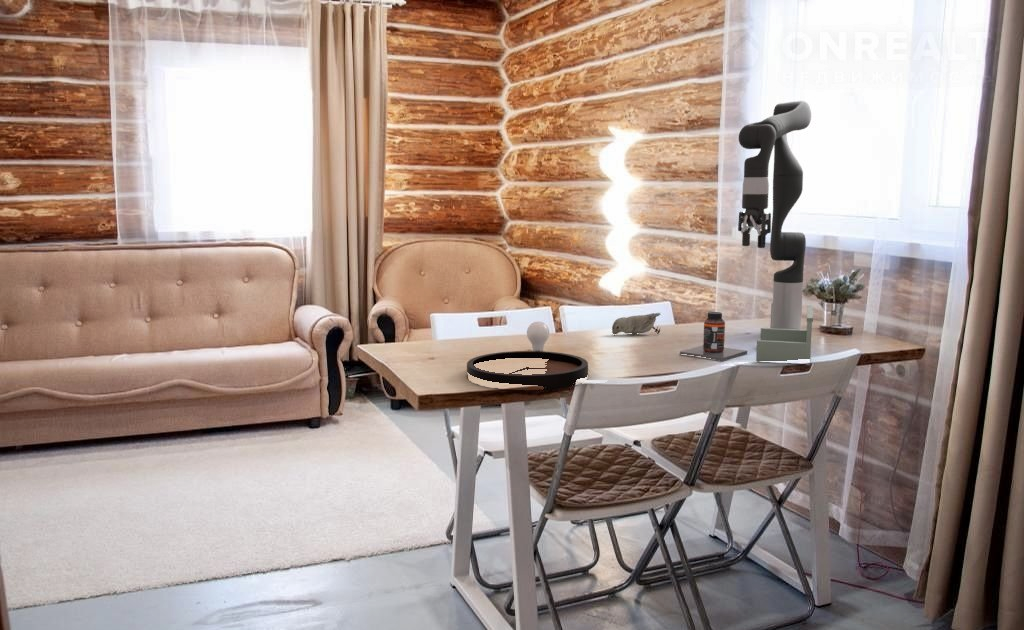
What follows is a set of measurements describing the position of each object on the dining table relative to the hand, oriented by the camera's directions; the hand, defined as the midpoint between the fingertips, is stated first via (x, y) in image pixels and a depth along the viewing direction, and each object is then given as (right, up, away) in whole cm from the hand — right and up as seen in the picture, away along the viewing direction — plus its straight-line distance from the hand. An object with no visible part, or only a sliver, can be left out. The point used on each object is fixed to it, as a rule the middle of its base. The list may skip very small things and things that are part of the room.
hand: (753, 246), depth 259 cm
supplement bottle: (-14, -31, -10) cm, 36 cm away
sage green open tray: (+5, -32, -12) cm, 35 cm away
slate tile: (-14, -32, -10) cm, 36 cm away
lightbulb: (-66, -34, -16) cm, 75 cm away
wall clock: (-69, -37, -36) cm, 86 cm away
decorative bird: (-32, -28, +23) cm, 48 cm away
